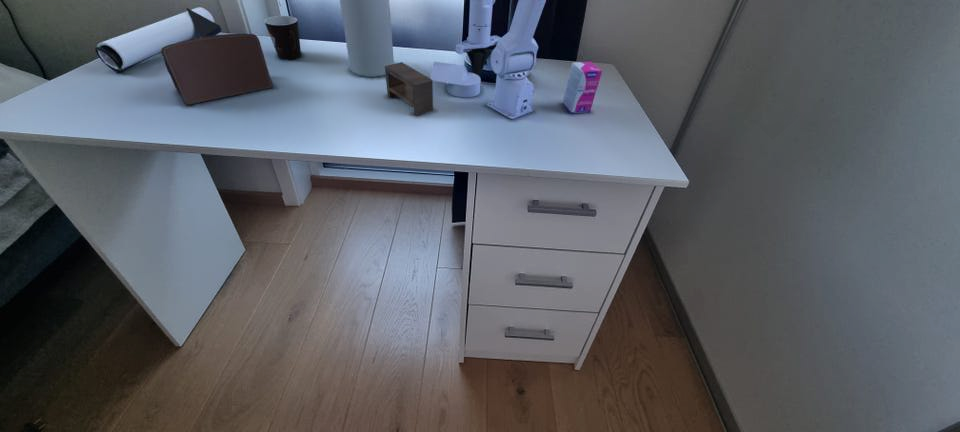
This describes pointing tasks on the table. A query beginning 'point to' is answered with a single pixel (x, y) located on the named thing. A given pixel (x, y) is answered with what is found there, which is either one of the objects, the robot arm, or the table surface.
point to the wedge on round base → (456, 79)
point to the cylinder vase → (368, 36)
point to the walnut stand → (410, 87)
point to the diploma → (155, 38)
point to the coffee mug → (284, 36)
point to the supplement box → (581, 87)
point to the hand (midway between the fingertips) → (476, 74)
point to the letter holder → (216, 67)
